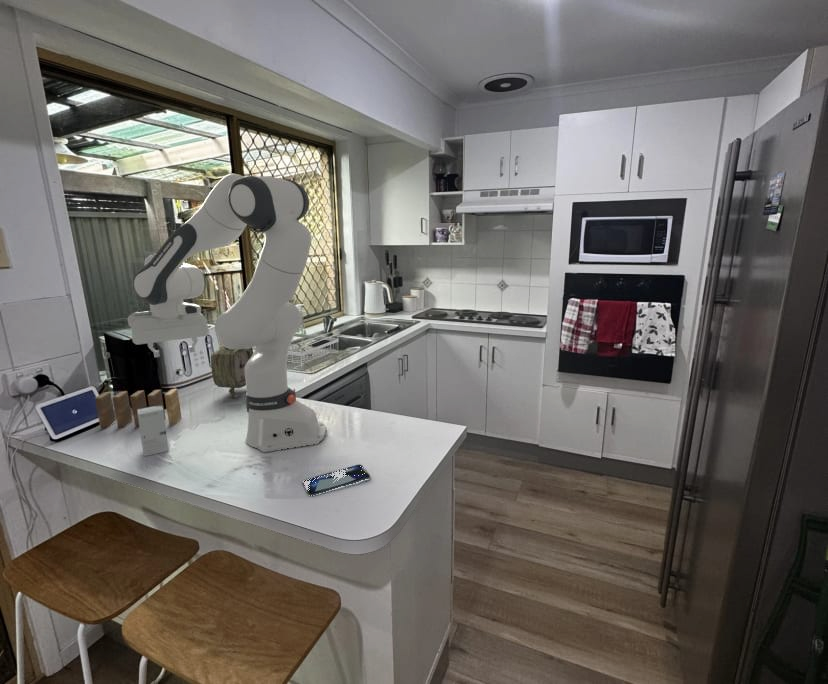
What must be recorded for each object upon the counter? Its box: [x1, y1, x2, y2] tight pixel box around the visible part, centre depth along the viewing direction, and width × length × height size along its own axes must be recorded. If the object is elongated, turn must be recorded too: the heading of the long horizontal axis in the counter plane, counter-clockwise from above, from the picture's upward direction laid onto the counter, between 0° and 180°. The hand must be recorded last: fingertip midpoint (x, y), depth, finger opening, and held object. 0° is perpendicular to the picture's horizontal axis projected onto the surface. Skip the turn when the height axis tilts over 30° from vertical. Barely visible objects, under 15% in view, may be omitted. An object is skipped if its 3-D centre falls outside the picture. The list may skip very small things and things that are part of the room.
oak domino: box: [164, 388, 183, 426], centre depth 135 cm, size 2×5×10 cm, turn 7°
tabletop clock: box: [210, 346, 254, 399], centre depth 158 cm, size 14×9×25 cm, turn 170°
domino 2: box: [111, 390, 133, 428], centre depth 134 cm, size 2×5×10 cm, turn 7°
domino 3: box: [129, 389, 148, 426], centre depth 134 cm, size 2×5×10 cm, turn 7°
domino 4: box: [147, 389, 166, 420], centre depth 135 cm, size 2×5×10 cm, turn 7°
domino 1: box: [94, 391, 117, 429], centre depth 133 cm, size 2×5×10 cm, turn 7°
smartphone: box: [302, 464, 371, 497], centre depth 102 cm, size 7×1×15 cm
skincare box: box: [137, 405, 169, 457], centre depth 116 cm, size 6×4×12 cm
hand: (175, 354), depth 130 cm, fingers open, 8 cm apart
